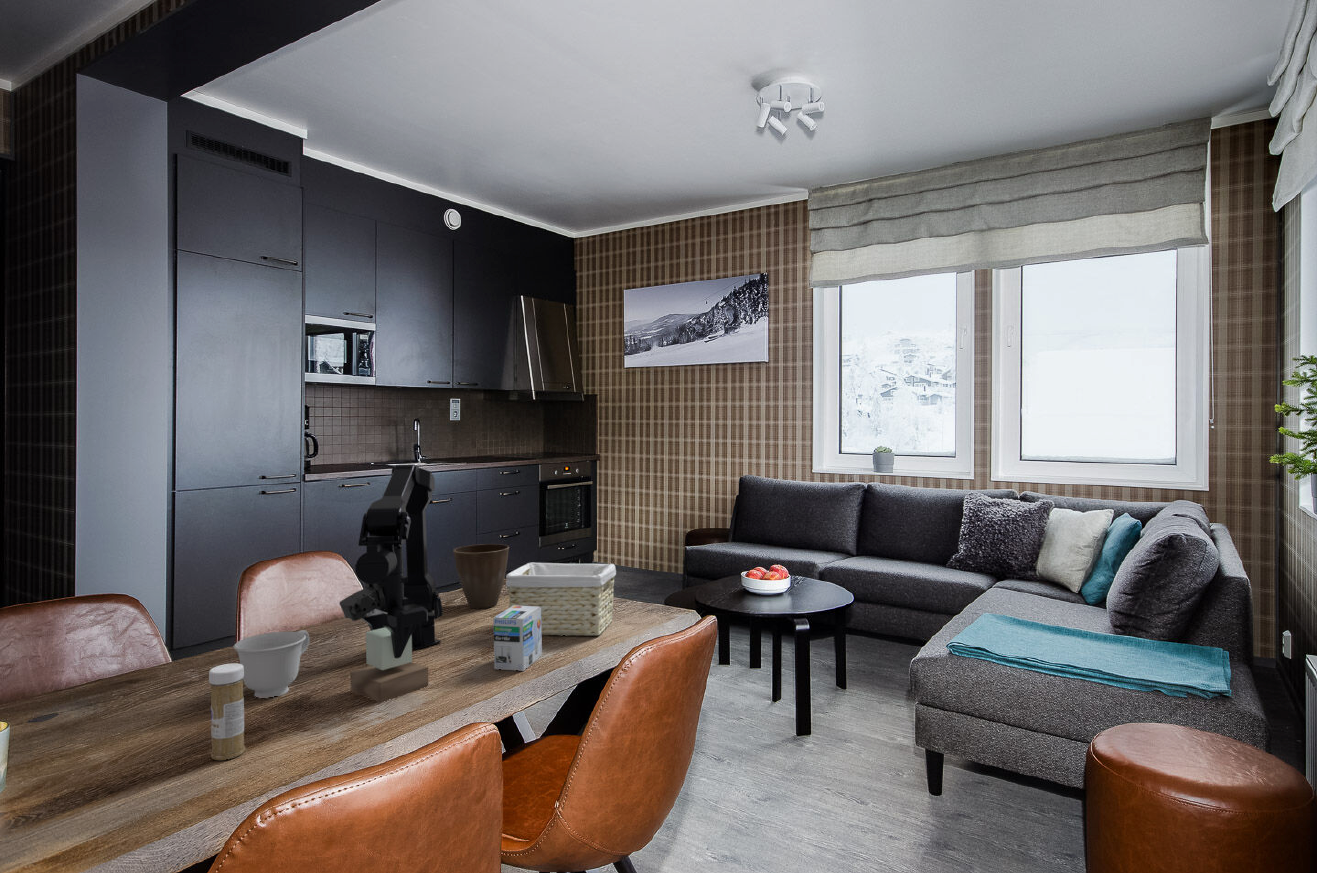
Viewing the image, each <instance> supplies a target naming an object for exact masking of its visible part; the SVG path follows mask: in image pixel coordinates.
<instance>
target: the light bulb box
mask: <svg viewBox="0 0 1317 873" xmlns="http://www.w3.org/2000/svg"><path fill="white" fill-rule="evenodd" d="M492 620H493V621H492V622H493V657H494V658H493V660H494V664H493V665H494V670H499V669H501V670H503V671H516V670H518V671H520V672H524V671H525V670H526V668H527V669H528V668H529V667H530V666H531V665H533V664H534V663H535V662H536V661H538V658H539V657H540V656H541V655H542V656H543V642H542V641H543V640H542V638H543V637H542V636H543V635H542V632H541V607H535V606H518V605H513V606H511V607H510V608H507V609H505V610H504V611H502V612H499V614H497V615H496V616H494V617H493V618H492ZM542 656H541V657H542ZM541 657H540V658H541ZM540 658H539V659H540ZM501 670H500V671H501Z"/></svg>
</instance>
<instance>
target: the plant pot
mask: <svg viewBox="0 0 1317 873" xmlns="http://www.w3.org/2000/svg"><path fill="white" fill-rule="evenodd" d="M509 550H510V546H509V545H507V544H502V543H501V544H500V543H485V544H484V543H483V544H471V545H470V544H469V545H464V546H460V547H459V546H458V547H456V548H454V549H453V551H452V552H453V555H454V562H455V567H456V572H457V575H458V578H459V582H460V586H461V589H462V591H463V595H464V596H465V599H466V602H467V604H468V606H470V607H469V608H471V609H474V608H484V609H489V607H490V608H493V606H494V607H496V606H497V605H498V602H499V599H500V596H501V594H502V589H503V585H504V582H505V578H506V574H507V573H506V572H507V567H508V566H507V565H508V559H509ZM495 605H496V606H495Z"/></svg>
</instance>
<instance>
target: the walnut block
mask: <svg viewBox="0 0 1317 873" xmlns="http://www.w3.org/2000/svg"><path fill="white" fill-rule="evenodd" d="M427 686H428V687H429V667H428V666H424V665H421V664H420V663H419V664H418V663H415V662H413V661H412V662H410V663H406V664H403V665H399V666H396V667H392V668H388V669H385V670H381V669H378V668H376V667H374V666H371V665H369V666H365V667H362V668H360V669H356V670H353V671H350V692H352V693H354V694H357V695H359V696H362V697H364V696H366V697H365V698H367V697H369V698H368V699H370V698H371V699H370V700H372V699H373V700H372V701H375V700H376V702H378V703H380V702H382V703H384V701H385V702H387V700H388V701H390V700H389V699H391V700H393V699H392V698H394V699H396V698H399V697H401V696H405V695H407V694H410V693H414V692H416V691H419V690H422V689H425V688H428V687H427ZM424 687H425V688H424ZM421 688H422V689H421ZM413 691H414V692H413ZM398 696H399V697H398Z"/></svg>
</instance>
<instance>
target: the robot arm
mask: <svg viewBox="0 0 1317 873" xmlns="http://www.w3.org/2000/svg"><path fill="white" fill-rule="evenodd" d="M390 476H391V477H390V479H389V481H388V483H387V486H386V488H385V490H384V492H383V495H382V497H381V498H379V499H378V500H375V501H373V502H372V503H371V504H370V506H369V507H368V508H367V509H366V512H364V514H363V517H362V522H361V528H360V534H359V539H358V547H366V552H364V553H363V554H362V555H360V556H359V557H358V559H357V561H356V563H355V565H354V566H355V568H354V570H355V574H356V576H357V577H358V579H359V580H360V581H362V583H365V584H364V585H365V586H364V588H363V589H360V590H358V591H355V592H354V593H352V594H351V595H348V596H347V597H345V598H344V599H342V600H340V601H339V606H340V608H341V611H342V613H343V616H344V617H345V619H350V620H351V621H353V622H357V621H359V620H362V621H364V623H366V624H367V625H368V626H369V631H372V630H376V629H381V628H387V629H388V630H389V631H390V632H391V639H392V646H393V652H394V657H395V658H400V657H401V656H402V653H403V651H404V649H405V647H406V645H407V642H408V640H409V638H410V636H411V634H412V650H413V649H414V650H419V649H422V648H427V647H430V646H434V645H437V644H441V643H442V640H440V639H438V638H436V626H435V620H436V619H439V618H441V617H443V614H444V613H443V604H442V598H441V597H440V594H439V592H438V591H437V589H436V587H437V586H436V582H435V579H433V577H432V576H431V575H430V573H429V572H428V570H429V569H428V547H427V546H428V545H427V542H428V541H427V517H426V516H427V515H426V509H427V508H428V505H429V503H430V502H431V500H432V499H433V492H434V491H435V487H436V483H435V482H436V481H435V477H434V475H433V473H432V472H431V471H430V470H427V469H424V468H421V467H420V466H419V465H416V464H413V463H412V464H411V463H410V464H408V463H407V464H396V465H393V466H392V468H391V475H390ZM404 544H405V557H406V559H405V562H406V576H405V575H404V550H403V549H404V547H403V545H404Z"/></svg>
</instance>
